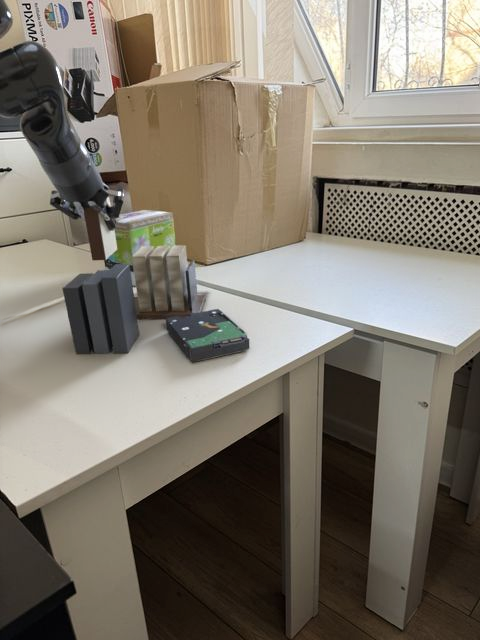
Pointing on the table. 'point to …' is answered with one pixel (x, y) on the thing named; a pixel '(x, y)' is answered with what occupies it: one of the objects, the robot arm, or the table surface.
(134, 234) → the tea box
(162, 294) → the stone tile rack
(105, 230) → the white book
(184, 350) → the disk drive
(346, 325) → the table surface
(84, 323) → the grey books
